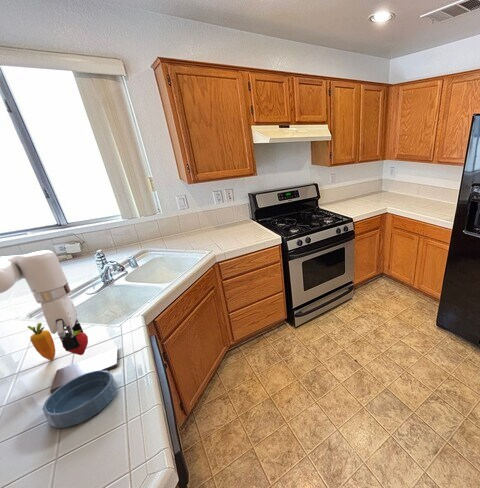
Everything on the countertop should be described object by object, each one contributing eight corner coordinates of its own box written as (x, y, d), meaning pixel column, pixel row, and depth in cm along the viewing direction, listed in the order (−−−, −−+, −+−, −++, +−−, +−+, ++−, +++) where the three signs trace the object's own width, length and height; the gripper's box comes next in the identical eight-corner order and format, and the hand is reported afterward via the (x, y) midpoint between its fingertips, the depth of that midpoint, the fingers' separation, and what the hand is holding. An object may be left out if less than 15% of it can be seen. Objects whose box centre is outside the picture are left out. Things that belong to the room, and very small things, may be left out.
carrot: (38, 363, 90) (19, 327, 86) (56, 353, 95) (39, 318, 90) (47, 366, 89) (28, 329, 84) (65, 356, 93) (48, 320, 88)
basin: (44, 441, 64) (36, 426, 63) (56, 400, 75) (49, 387, 74) (117, 407, 72) (111, 393, 70) (118, 375, 83) (113, 362, 82)
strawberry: (71, 365, 80) (58, 338, 77) (67, 355, 85) (55, 329, 81) (95, 354, 84) (84, 328, 81) (90, 344, 89) (80, 320, 85)
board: (51, 393, 78) (49, 390, 78) (58, 372, 86) (56, 370, 85) (117, 366, 87) (116, 363, 86) (118, 350, 94) (117, 347, 94)
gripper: (42, 286, 82) (64, 333, 87) (26, 309, 68) (53, 363, 74) (74, 278, 86) (93, 324, 91) (64, 299, 72) (87, 351, 78)
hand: (75, 341), depth 83 cm, fingers closed on strawberry, 7 cm apart
